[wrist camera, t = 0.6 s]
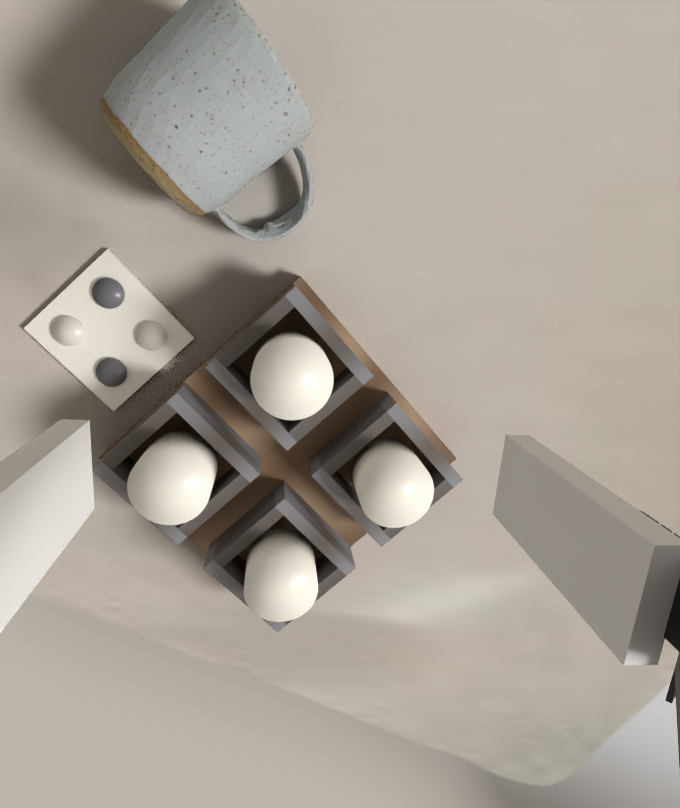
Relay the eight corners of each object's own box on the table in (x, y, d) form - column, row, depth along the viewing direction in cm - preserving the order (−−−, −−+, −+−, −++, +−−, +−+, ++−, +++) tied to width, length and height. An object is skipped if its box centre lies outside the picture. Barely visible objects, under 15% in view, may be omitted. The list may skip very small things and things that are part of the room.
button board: (105, 451, 33) (82, 475, 29) (300, 276, 32) (302, 277, 28) (272, 600, 37) (272, 638, 34) (450, 452, 36) (471, 474, 32)
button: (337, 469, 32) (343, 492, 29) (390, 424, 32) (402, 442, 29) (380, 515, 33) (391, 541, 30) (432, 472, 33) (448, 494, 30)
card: (26, 327, 31) (22, 328, 30) (109, 249, 30) (106, 248, 30) (115, 410, 33) (112, 412, 32) (194, 337, 32) (193, 338, 31)
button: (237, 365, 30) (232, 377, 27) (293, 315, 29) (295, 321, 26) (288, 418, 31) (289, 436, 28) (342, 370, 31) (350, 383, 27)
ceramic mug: (114, 125, 28) (58, 78, 21) (222, 20, 28) (203, -65, 20) (245, 273, 32) (237, 278, 24) (345, 183, 31) (368, 159, 23)
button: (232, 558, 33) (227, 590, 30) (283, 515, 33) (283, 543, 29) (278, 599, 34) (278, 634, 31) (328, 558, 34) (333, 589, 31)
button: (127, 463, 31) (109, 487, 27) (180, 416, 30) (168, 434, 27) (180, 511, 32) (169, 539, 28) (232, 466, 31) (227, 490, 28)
